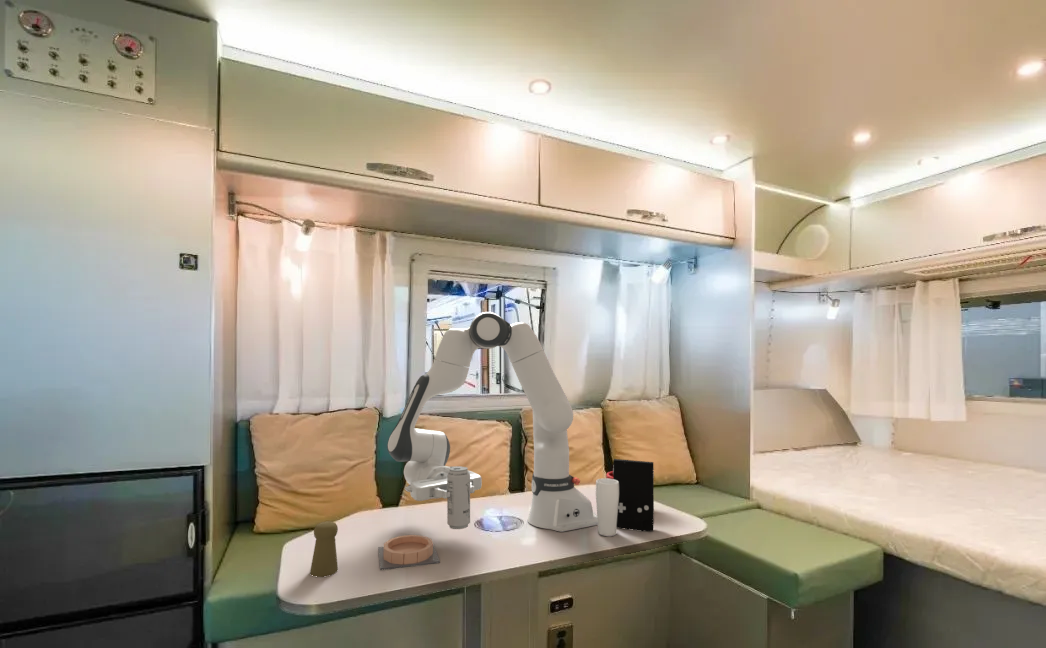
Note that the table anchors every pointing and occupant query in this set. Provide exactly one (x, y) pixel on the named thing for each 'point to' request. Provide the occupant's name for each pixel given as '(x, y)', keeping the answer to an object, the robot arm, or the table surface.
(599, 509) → the drinking glass
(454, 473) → the energy drink can
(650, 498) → the handheld gaming console
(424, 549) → the dish
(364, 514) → the table surface
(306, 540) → the table surface
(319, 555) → the cork
